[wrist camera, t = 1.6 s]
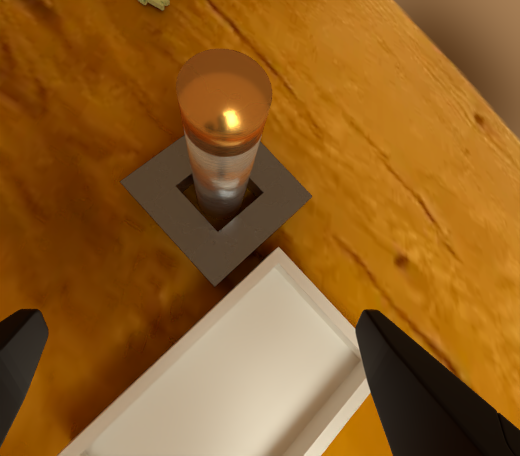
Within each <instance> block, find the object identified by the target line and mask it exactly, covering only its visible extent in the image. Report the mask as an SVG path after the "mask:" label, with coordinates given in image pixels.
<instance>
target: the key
mask: <svg viewBox="0 0 520 456" xmlns="http://www.w3.org/2000/svg"><path fill="white" fill-rule="evenodd" d="M138 1H139V2H140V3H141V4H143V5H146V4H147V3H150V4H152V5H153V6H155V7H157V8H159V9H160V10H162V11H163V10H164V6H168V5H169V4H170V3H169V0H138Z"/></svg>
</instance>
